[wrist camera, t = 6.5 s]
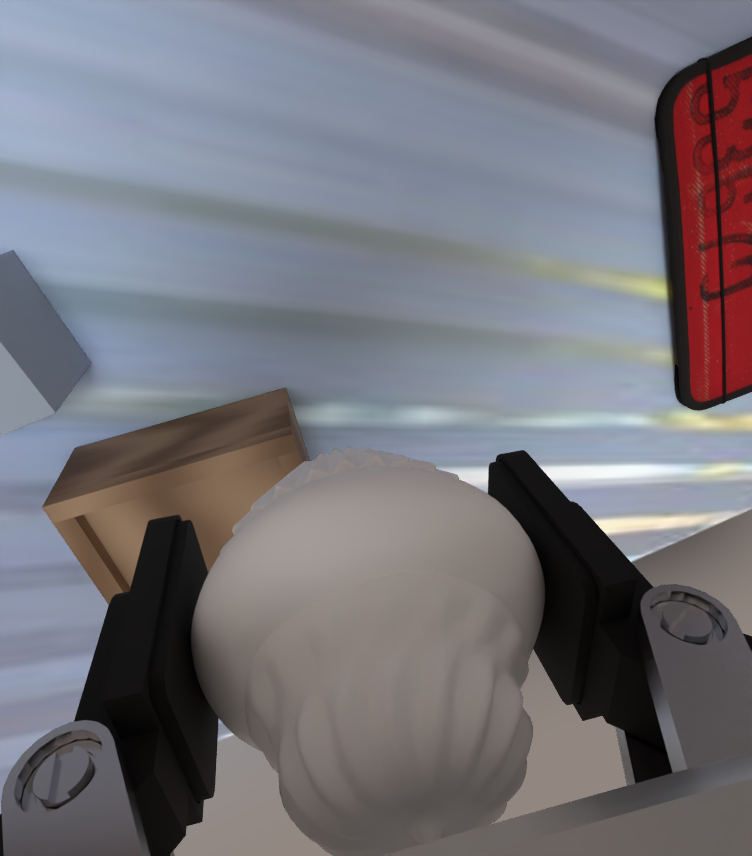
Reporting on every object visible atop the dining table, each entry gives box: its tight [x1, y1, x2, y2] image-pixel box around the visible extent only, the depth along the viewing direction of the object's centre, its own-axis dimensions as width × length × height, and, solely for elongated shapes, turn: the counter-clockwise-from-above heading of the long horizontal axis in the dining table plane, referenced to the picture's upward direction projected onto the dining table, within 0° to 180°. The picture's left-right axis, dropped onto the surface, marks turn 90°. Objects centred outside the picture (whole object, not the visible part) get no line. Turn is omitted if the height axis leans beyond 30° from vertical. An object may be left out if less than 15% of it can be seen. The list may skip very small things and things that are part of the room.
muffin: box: [191, 447, 545, 856], centre depth 9 cm, size 6×6×7 cm
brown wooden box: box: [42, 388, 310, 604], centre depth 31 cm, size 12×12×6 cm
